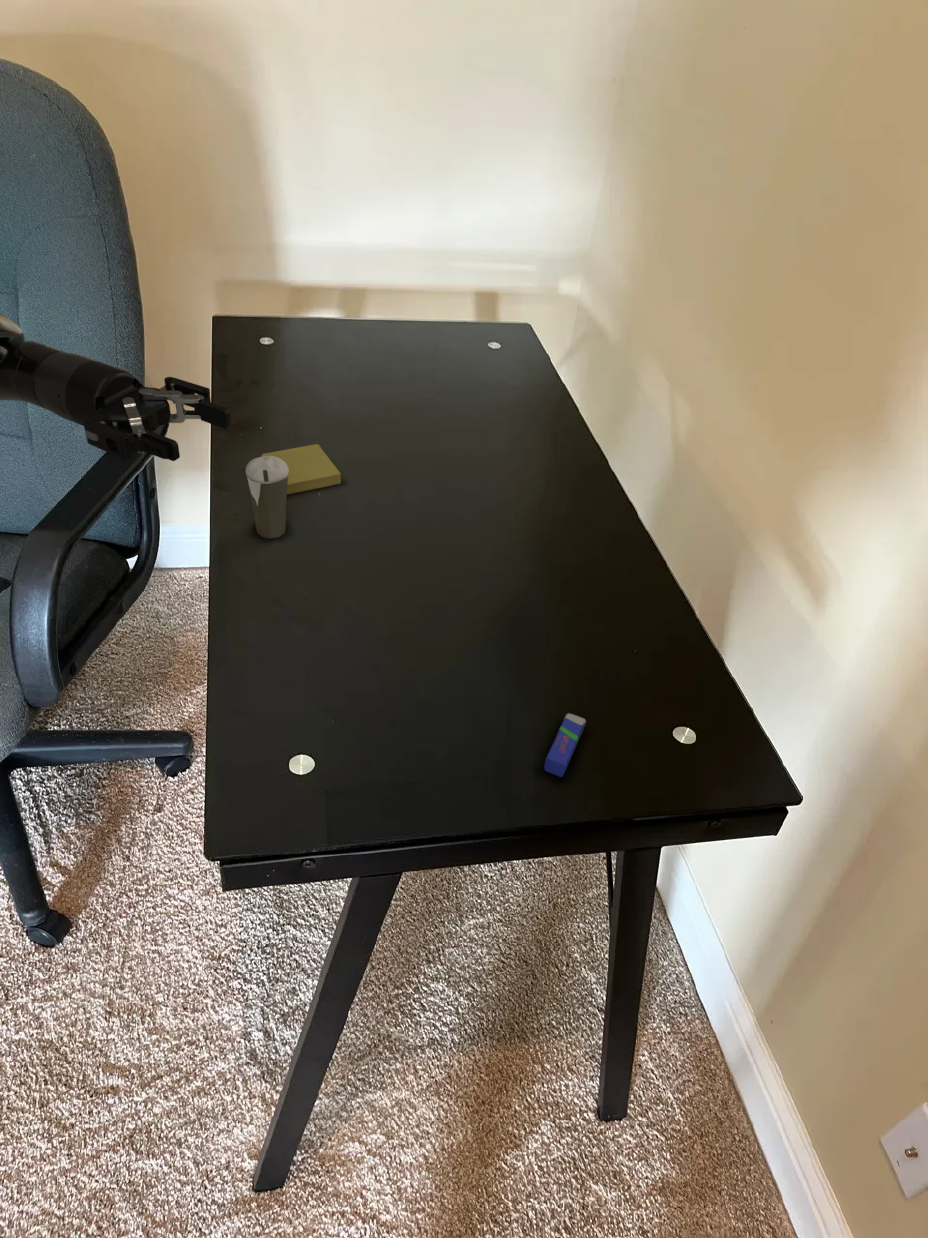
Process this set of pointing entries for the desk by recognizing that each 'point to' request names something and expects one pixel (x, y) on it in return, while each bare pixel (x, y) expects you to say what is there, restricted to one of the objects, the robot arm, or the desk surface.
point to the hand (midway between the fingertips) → (203, 435)
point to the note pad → (308, 468)
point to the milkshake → (268, 494)
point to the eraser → (564, 745)
